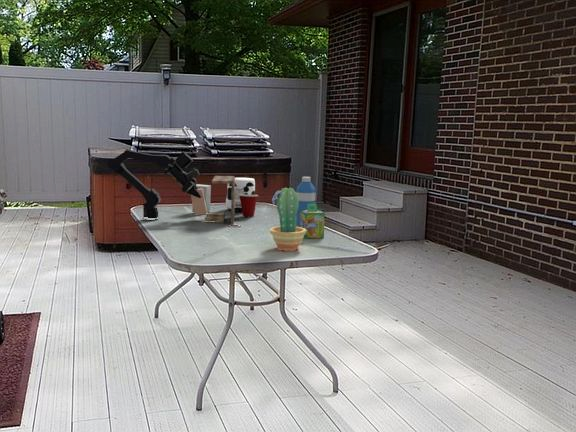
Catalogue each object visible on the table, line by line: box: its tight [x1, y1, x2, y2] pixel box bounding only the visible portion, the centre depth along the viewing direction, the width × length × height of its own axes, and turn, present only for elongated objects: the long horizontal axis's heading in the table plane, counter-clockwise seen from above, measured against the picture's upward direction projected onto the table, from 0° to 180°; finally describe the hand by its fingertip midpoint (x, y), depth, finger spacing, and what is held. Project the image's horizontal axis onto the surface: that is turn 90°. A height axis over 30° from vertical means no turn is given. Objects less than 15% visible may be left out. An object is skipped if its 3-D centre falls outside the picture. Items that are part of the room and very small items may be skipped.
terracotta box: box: [190, 188, 207, 216], centre depth 300 cm, size 6×6×12 cm
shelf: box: [204, 175, 236, 226], centre depth 300 cm, size 14×24×22 cm, turn 4°
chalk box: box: [300, 203, 326, 239], centre depth 265 cm, size 9×9×15 cm
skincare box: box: [191, 183, 212, 214], centre depth 321 cm, size 8×7×16 cm
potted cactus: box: [269, 187, 307, 252], centre depth 239 cm, size 15×15×25 cm
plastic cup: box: [239, 194, 259, 218], centre depth 315 cm, size 11×11×12 cm
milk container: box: [225, 177, 256, 212], centre depth 333 cm, size 17×17×18 cm
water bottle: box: [295, 176, 317, 227], centre depth 283 cm, size 9×9×25 cm
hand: (200, 196), depth 299 cm, fingers closed on terracotta box, 5 cm apart
